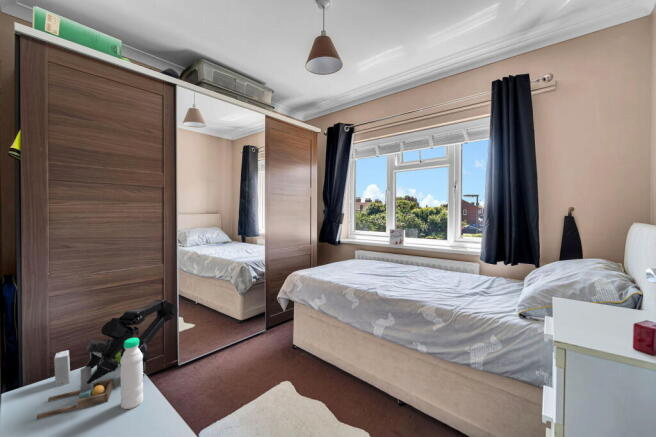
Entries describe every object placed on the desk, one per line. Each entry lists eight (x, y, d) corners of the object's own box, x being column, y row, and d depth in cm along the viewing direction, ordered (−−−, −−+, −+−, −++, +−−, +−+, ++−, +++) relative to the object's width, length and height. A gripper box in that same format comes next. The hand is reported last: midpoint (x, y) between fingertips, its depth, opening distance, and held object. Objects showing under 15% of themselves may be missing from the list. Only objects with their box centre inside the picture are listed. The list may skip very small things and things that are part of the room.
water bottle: (131, 411, 102) (131, 345, 101) (116, 408, 103) (115, 343, 102) (147, 398, 109) (147, 336, 108) (132, 395, 110) (132, 334, 109)
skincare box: (69, 383, 117) (68, 355, 117) (54, 387, 114) (53, 358, 114) (70, 376, 122) (70, 349, 122) (56, 379, 119) (55, 352, 119)
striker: (93, 391, 111) (93, 363, 111) (89, 401, 106) (89, 371, 106) (83, 394, 110) (82, 366, 109) (78, 403, 105) (78, 374, 104)
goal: (113, 385, 117) (113, 378, 116) (107, 401, 107) (107, 393, 107) (49, 400, 107) (49, 392, 107) (36, 419, 97) (36, 411, 97)
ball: (101, 381, 112) (90, 388, 110) (98, 386, 108) (87, 394, 107) (107, 388, 113) (96, 395, 111) (105, 393, 109) (94, 401, 108)
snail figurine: (104, 365, 130) (103, 341, 130) (119, 359, 136) (119, 335, 135) (110, 369, 127) (109, 343, 127) (125, 362, 133) (125, 338, 133)
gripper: (96, 325, 117) (61, 361, 109) (107, 339, 105) (68, 381, 97) (119, 336, 123) (87, 371, 115) (132, 351, 111) (97, 391, 103)
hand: (85, 378), depth 108 cm, fingers open, 9 cm apart
